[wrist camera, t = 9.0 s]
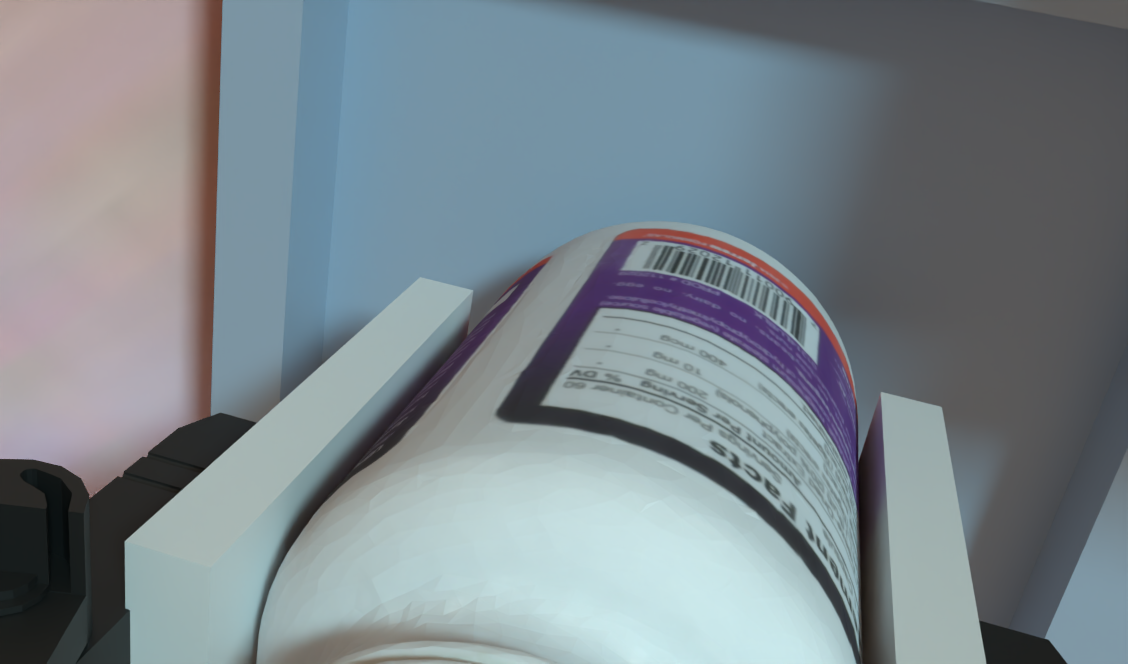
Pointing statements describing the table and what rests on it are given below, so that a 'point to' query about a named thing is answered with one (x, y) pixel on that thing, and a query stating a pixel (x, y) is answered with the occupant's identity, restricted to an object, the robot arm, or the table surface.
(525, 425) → the pill bottle
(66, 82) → the table surface
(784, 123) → the tray
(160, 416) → the table surface
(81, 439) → the table surface
